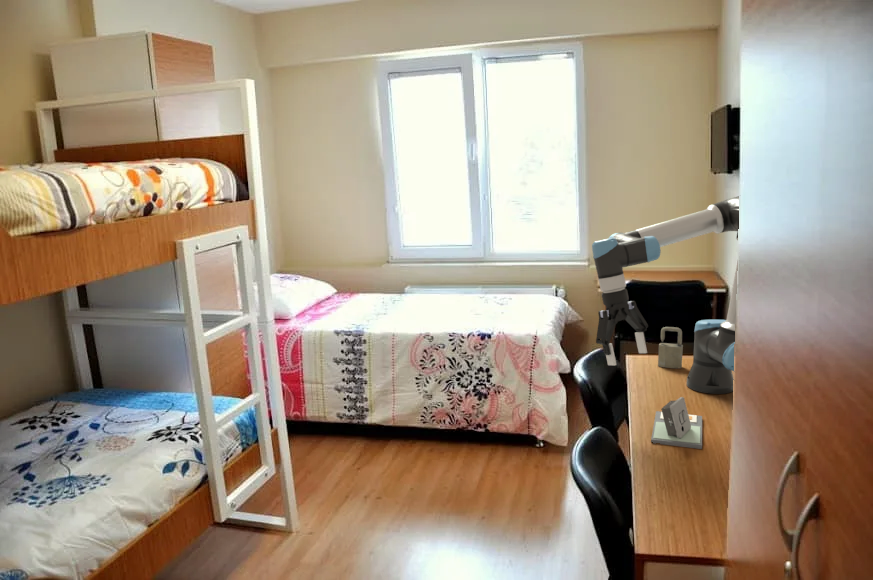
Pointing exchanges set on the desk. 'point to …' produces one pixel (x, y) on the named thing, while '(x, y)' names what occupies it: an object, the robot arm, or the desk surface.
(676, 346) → the padlock
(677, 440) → the switch plate
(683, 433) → the electrical switch
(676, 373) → the desk surface
